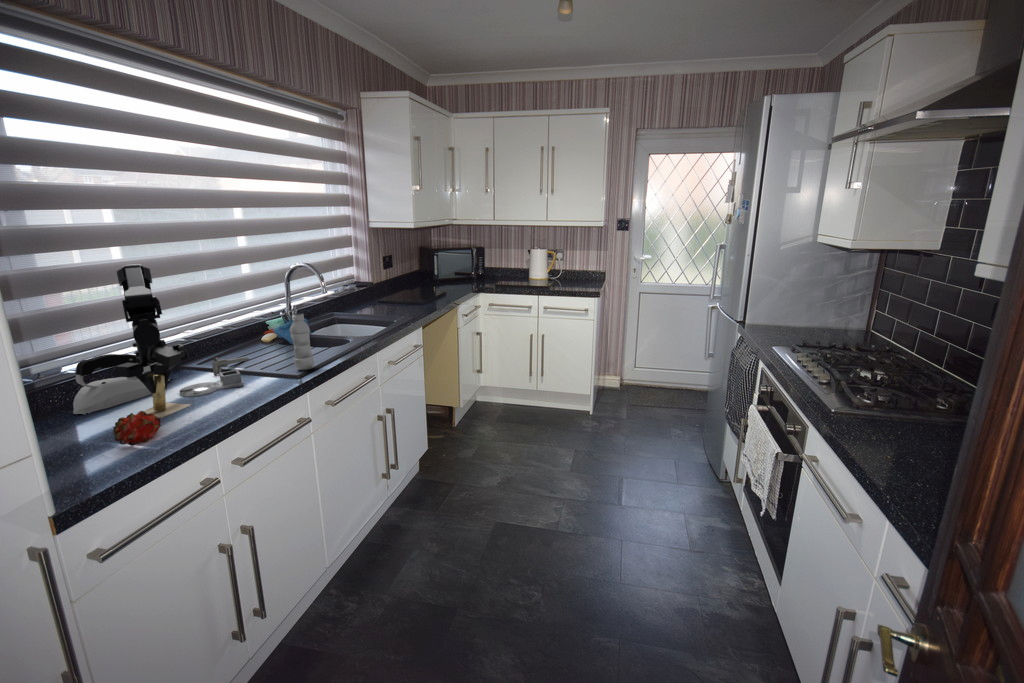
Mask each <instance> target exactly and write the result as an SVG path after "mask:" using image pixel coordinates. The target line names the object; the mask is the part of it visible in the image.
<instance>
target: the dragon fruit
mask: <svg viewBox="0 0 1024 683" xmlns="http://www.w3.org/2000/svg"><path fill="white" fill-rule="evenodd" d="M144 411H145V410H139V412H137V413H136V414H137V415H135V413H132V412H131V413H130V414H128V415H126V417H123V416H122V417H119V418H118V420H117V421H116V422H114V426H113V428H112V430H113V431H112V432H113V435H114V441H116V442H119V444H120V445H122V446H123V445H128V444H129V445H130V446H131V447H133V446H135V444H136V443H140V444H141V443H148V442H149V439H153V438H154V436H155V434H156V435H157V432H158V431H159V430H160V428H161V427H162V424H161V423H162V420H161V418H157V417H156V416H155V415H154V414H153V413H151V414H146V413H145V412H144Z"/></svg>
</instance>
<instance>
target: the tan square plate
mask: <svg viewBox="0 0 1024 683" xmlns="http://www.w3.org/2000/svg"><path fill="white" fill-rule="evenodd" d="M190 406H191V404H188V403H178V402H177V403H174V402H166V409H165V410H160V411H155V410H153V407H150V408H147V409H145V410H143V411H144V412H145V413H146V414H151V413H153V414H154V415H155V416H156V417H157V418H159V419H163V418H165V417H167V416H170V415H171V414H175V413H176V412H178V411H179V412H180V411H181V410H183V409H185V408H188V407H190ZM137 414H138V413H136V414H135V413H134V415H137Z"/></svg>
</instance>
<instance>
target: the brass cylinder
mask: <svg viewBox="0 0 1024 683" xmlns="http://www.w3.org/2000/svg"><path fill="white" fill-rule="evenodd" d="M153 380H154V385H155V393H154V394H152V406H153V410H155V411H160V410H165V409H166V403H167V402H166V399H167V397H166V389H165V374H154V375H153Z"/></svg>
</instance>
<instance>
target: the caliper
mask: <svg viewBox="0 0 1024 683" xmlns="http://www.w3.org/2000/svg"><path fill="white" fill-rule="evenodd" d="M248 360H250V357H248V356H243V357H237V358H231V359H227V358H226V359H225V358H224V359H219V357H214V358H213V361H212V372H213V375H214V376H218V375H220V374H219V373H222V368H226V367H227V368H228V366H229V365H231V364H236V363H241V362H246V361H248Z"/></svg>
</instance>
